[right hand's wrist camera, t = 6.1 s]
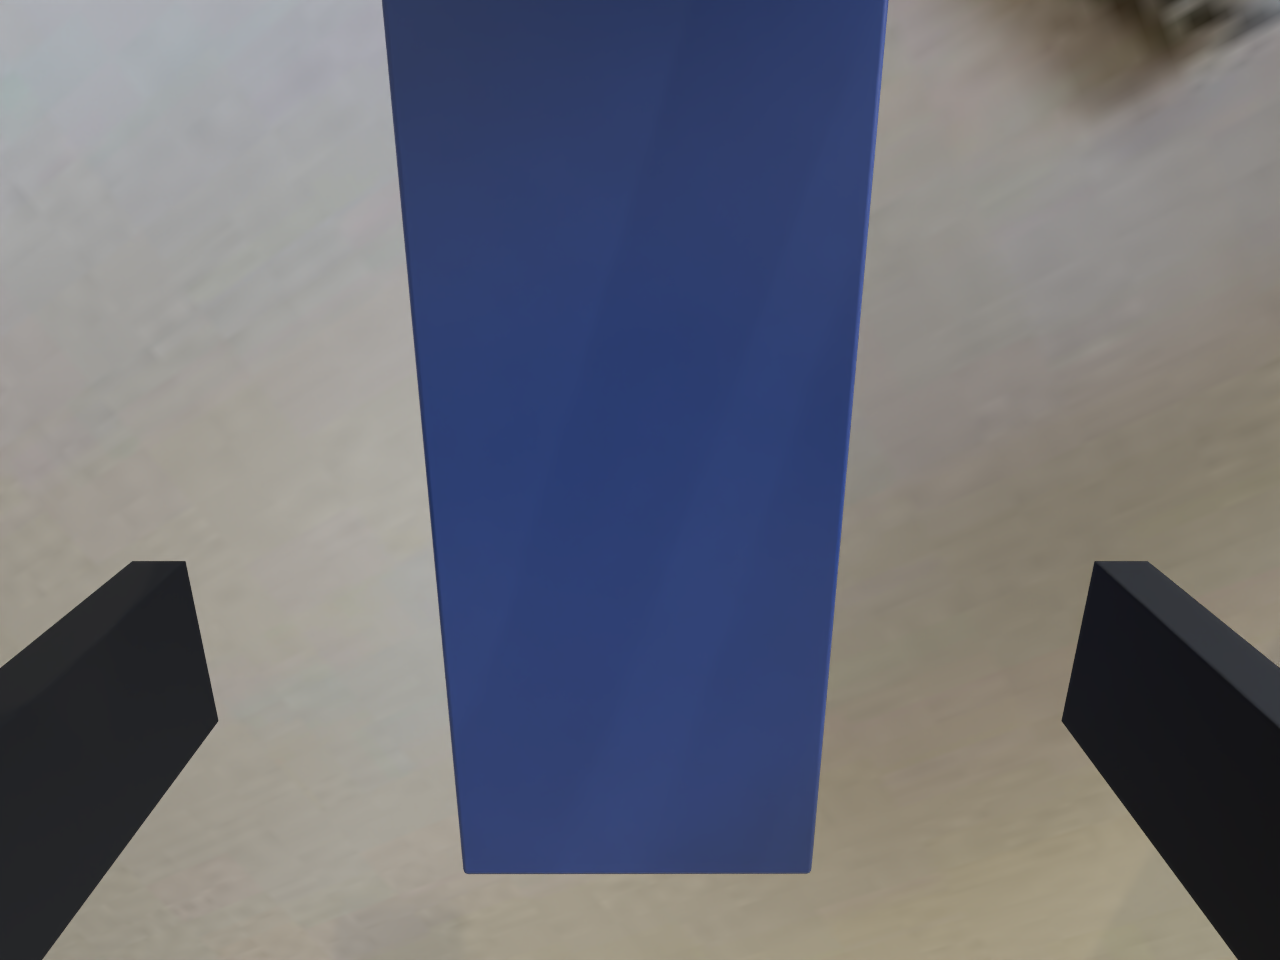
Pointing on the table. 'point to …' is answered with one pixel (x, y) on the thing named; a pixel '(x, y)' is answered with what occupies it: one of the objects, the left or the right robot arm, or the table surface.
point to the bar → (636, 409)
